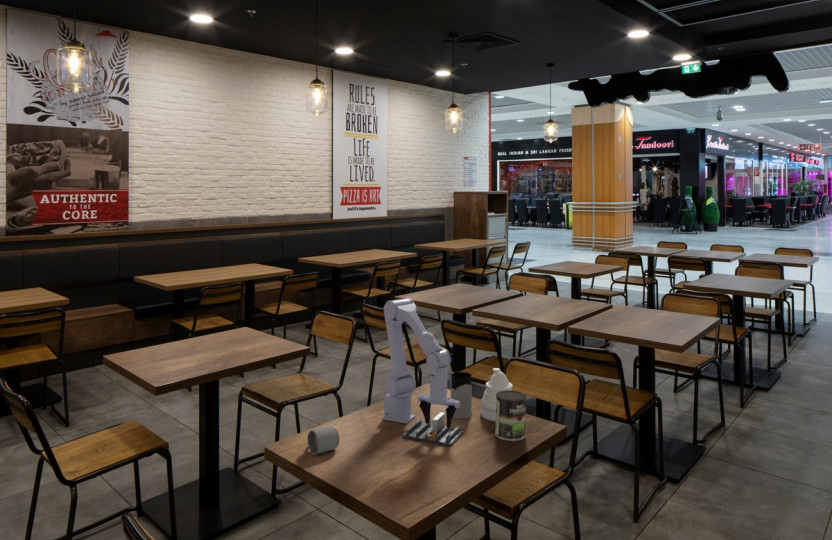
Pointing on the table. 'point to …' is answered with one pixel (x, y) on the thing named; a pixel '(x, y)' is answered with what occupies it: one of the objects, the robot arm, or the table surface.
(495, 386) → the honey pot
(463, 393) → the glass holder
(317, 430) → the ceramic mug
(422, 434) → the rack
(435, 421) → the panel
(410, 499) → the table surface
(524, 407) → the coffee can
